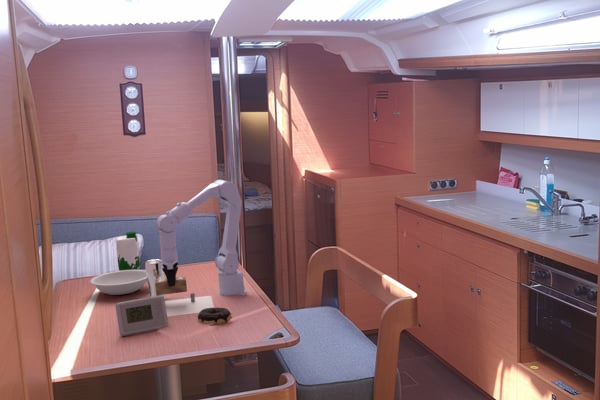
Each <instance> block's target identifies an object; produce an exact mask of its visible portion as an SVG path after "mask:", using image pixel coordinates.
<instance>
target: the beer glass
mask: <svg viewBox="0 0 600 400" xmlns="http://www.w3.org/2000/svg"><path fill="white" fill-rule="evenodd" d="M159 260H162V259H160V258H159V259H158V258H157V259H150V260H146V261H145V262H144V263H145V269H144V270H146V278H147V281H146V283H147V285H148V288H149V297H155V296H163V297H164V300H166V299H167V298H166V294H164V295H156V286H155V280H159V279H165V276H166V275H165V273H164V272H163V270H162V268H164V267H163V266H162V264H163V263H159V262H158V261H159Z"/></svg>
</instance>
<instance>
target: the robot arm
mask: <svg viewBox="0 0 600 400" xmlns="http://www.w3.org/2000/svg"><path fill="white" fill-rule="evenodd" d="M218 198H220V199H221V200H222V201H223V202H224V203H225V204H226V205H227V207H226V208H227V209H226V213H225V222H224V228H223V229H224V230H223V236H222V242H221V246H220V248H219V249H218V254H217V256H216V257H215V259H214V264H215V267H216V268H218V271H217V275H218V289H219V295H221V296H223V297H224V296H225V297H226V296H227V297H228V296H235V295H240V296H243V297H244V296H245V289H246V288H245V285H244V282H245V281H244V275H243V271H242V270H241V271H240V270H239V271H238V269H239V266H240V264H239V263H240V262H239V260H238V259H239V258H238V256H239V254H238V251H237V248H236V247H237V241H238V234H239V228H240V227H239V226H240V221H241V220H240V219H241V215H242V207H243V201H242V199H241V196H240V192H239V188H238V187H237V185H235V183H234V182H232V181H231V180H224V179H217V180H214V182H211V183H210V184H209V185H208V186H206V187H205V188H204V189H203V190H202V191H200V192H199V193H197V194H196V195H195V196H193V198H191V199H190V200H189V201H187V202H185V201H182V202H177V203H176V206H174V207H173V208H171V210H167V211H166V212H165V214H161V215H160V216H158V217H157V219H156V222H155V226H156V228H157V229H159V230H158V232H159V246H160V258H161V260H159V261H158V262H159V263H163V264H162V266H163V267H164V268H162V270H163V272H164V274H165V275H164V276H165V279H167V282H168V285H169V287H170V286H175V281H176V278H177V272H178V271H179V266H178V265H179V258H178V253H177V252H178V250H177V249H178V247H177V239H176V232H175V230H176V229H177V226H178V225H179V224H180V223H182V222H183V221H186V219H188V218H189V217H190V216H191V215H192V214H193V211H194V209H196V208H198V207H199V206H201V205H203V204H204V203H205V202H207V201H208V200H210V199H218Z"/></svg>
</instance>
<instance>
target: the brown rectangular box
mask: <svg viewBox="0 0 600 400" xmlns="http://www.w3.org/2000/svg"><path fill="white" fill-rule="evenodd" d="M155 286H156V295H164V294H165V295H170V294H172V295H173V294H179V293H186V292H188V287H187V277H186V276H176V281H175V286H170V287H169V285H168V282H167V278H164V279H159V280H155Z"/></svg>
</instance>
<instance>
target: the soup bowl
mask: <svg viewBox="0 0 600 400" xmlns="http://www.w3.org/2000/svg"><path fill="white" fill-rule="evenodd" d="M89 282H90V285H93V286H95V287H96V289H97V290H98V291H100V292H101V293H103V294H105V295H111V296H120V295H128V294H131V293H134V292H137V291H138V290H139V291H140V289H142V288H143V287H144V285H145V284H146V283H147V278H146V270H145V269H140V270H121V271H119V270H116V271H115V270H114V271H111V272H106V273H101V274H99V275H96V276H93V277H91V279H90V280H89Z"/></svg>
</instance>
